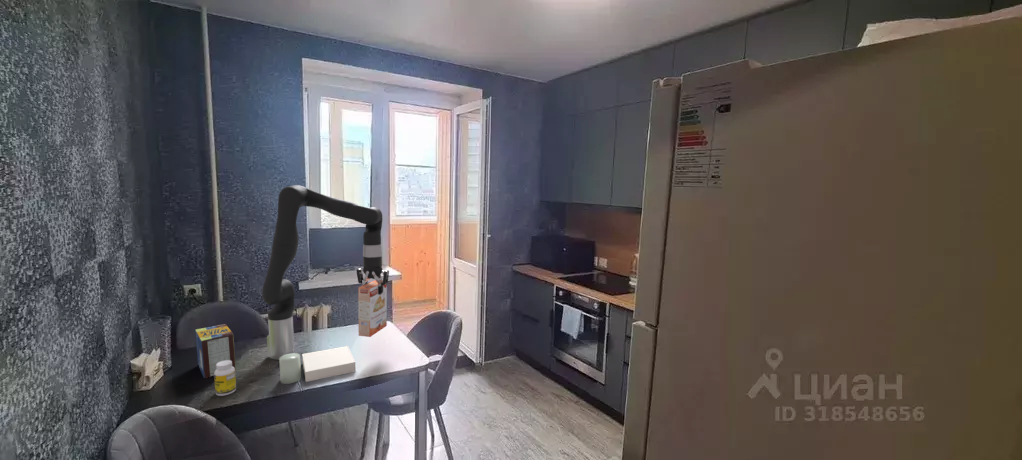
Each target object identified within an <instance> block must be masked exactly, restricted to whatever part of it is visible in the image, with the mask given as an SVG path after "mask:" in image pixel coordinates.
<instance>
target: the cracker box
mask: <svg viewBox="0 0 1022 460" xmlns="http://www.w3.org/2000/svg"><path fill="white" fill-rule="evenodd" d="M378 286H379V285H378V283H377V282H376V280H375V279H374V280H373V281H370V282H368V283H367V284H366V285H361V286H359V287H358V289H357V291H358V292H357V293H358V294H357V295H358V296H357V297H358V298H357V299H358V300H357V301H358V308H357V309H358V311H357V312H358V314H357V315H358V318H357V319H358V336H360V337H365V338H366V337H368V338H371V337H372V336H373V335H375V334H377V333H378V332H379V331H381V330H383V329H384V328H386V327H387V325H388V323H387V317H388V316H387V315H388V314H387V313H388V312H387V311H388V310H387V308H388V307H387V305H388V304H387V303H388V301H387V300H388V299H387V298H388V294H387V293H388V292H387V290H388V283H387V284H385V285H383V293H382V294H381V295H378Z"/></svg>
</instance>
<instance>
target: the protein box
mask: <svg viewBox="0 0 1022 460" xmlns="http://www.w3.org/2000/svg"><path fill="white" fill-rule="evenodd" d="M194 332H195V343H196V344H195V345H196V354H197V365H199V366H198V367H199V370H200V373H201V375H202V377H203V379H204V378H206V379H208V377H209V378H212V377H211V376H213V377H214V372H215V370H217V368H216V364H217V363H218V362H221V361H225V360H230V361H232V366H233V367H234V368H235V371H237V370H236V369H237V368H236V367H237V366H236V354H235V341H234V332H232V330H231V329H230V328H229V327H228V325H227V324H226V323H223V324H217V325H213V326H208V327H203V328H197V329H195V331H194Z"/></svg>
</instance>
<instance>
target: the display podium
mask: <svg viewBox="0 0 1022 460" xmlns="http://www.w3.org/2000/svg"><path fill="white" fill-rule="evenodd" d="M301 355H302V358H301V359H302V369H303V374H304V379H305V382H312V381H317V380H323V379H326V378H332V377H336V376H340V375H341V376H342V375H345V374H349V373H355V372H356V360H355V358H354V356H353V353H352V352H351V349H350V347H349V345H345V346H341V347H334V348H329V349H328V348H327V349H324V350H318V351H312V352H305V353H302V354H301Z"/></svg>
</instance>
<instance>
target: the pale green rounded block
mask: <svg viewBox="0 0 1022 460" xmlns="http://www.w3.org/2000/svg"><path fill="white" fill-rule="evenodd" d="M278 362H279V376H280V377H279V379H280V383H281V384H285V385H289V384H293V383H297V382H298V381H300V380H301V379H302V372H301V371H302V369H301V368H302V367H301V355H300V353H297V352H296V353H295V352H294V353H290V354H286V355H283V356H281V357H280V358H279V359H278Z"/></svg>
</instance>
